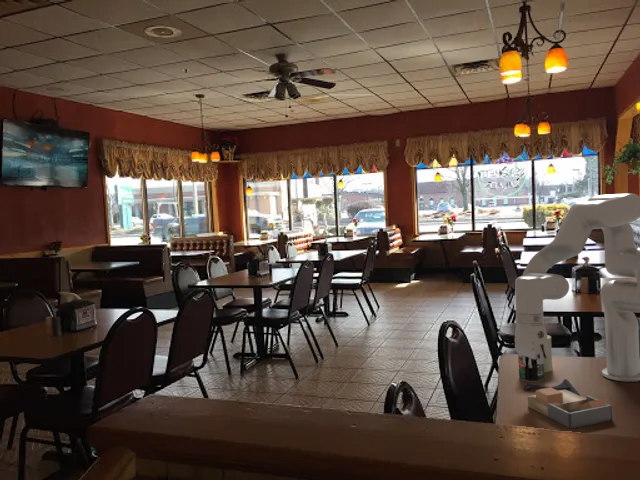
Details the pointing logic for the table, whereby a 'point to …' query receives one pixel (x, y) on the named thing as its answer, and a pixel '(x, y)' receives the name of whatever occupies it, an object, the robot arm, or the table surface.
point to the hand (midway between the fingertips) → (531, 379)
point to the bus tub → (580, 415)
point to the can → (548, 360)
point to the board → (568, 404)
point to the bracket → (563, 386)
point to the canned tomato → (522, 371)
